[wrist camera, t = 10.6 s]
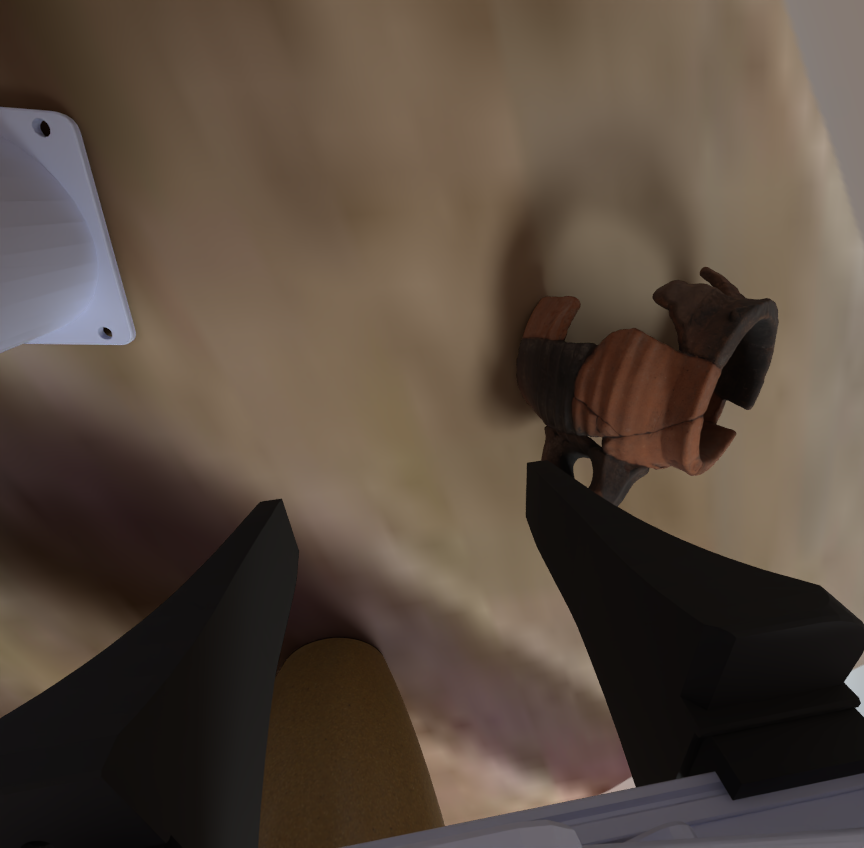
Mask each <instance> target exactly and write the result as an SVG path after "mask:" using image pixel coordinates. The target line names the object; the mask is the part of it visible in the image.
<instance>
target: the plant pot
mask: <svg viewBox="0 0 864 848" xmlns="http://www.w3.org/2000/svg"><path fill="white" fill-rule="evenodd" d="M444 826H445V825H444V821H443V818H442V814H441V811H440V807H439V804H438V801H437V797H436V794H435V791H434V788H433V784H432V781H431V778H430V775H429V771H428V768H427V765H426V762H425V759H424V756H423V753H422V750H421V747H420V744H419V742H418V739H417V736H416V733H415V731H414V728H413V725H412V722H411V720H410V717H409V714H408V712H407V709H406V707H405V704H404V702H403V699H402V697H401V695H400V692H399V690H398V687H397V685H396V683H395V681H394V678H393V676H392V674H391V672H390V670H389V667H388V665H387V663H386V661H385V659H384V657H383V655H382V654H381V653H380V652H379V651H378V650H377V649H376V648H374V647H373V646H371V645H369V644H367V643H365V642H362V641H359V640H355V639H350V638H330V639H323V640H319V641H315V642H312V643H309V644H307V645H305V646H303V647H301V648H299V649H298V650H296V651H295V652H294V653H293V654H291V655H290V656H289V658H288V659H287V660H286V661H285V663H284V664H283V666H282V668H281V669H280V671H279V672H278V674H277V676H276V677H275V682H274V689H273V697H272V705H271V712H270V721H269V730H268V739H267V748H266V757H265V767H264V778H263V789H262V801H261V812H260V827H259V842H258V848H340V847H345V846H350V845H355V844H360V843H365V842H370V841H375V840H380V839H385V838H390V837H395V836H400V835H404V834H409V833H414V832H419V831H424V830H429V829H434V828H439V827H444Z"/></svg>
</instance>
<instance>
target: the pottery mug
mask: <svg viewBox="0 0 864 848" xmlns="http://www.w3.org/2000/svg"><path fill="white" fill-rule="evenodd" d="M700 276H701V277H702V278H704V279H705V280H706V281H708V282H709V283H710V284H711V285H712V286H713V287H712V286H710V285H708V284H701V283H700V284H688V283H686V282H684V281H680V280H675V281H671V282H669V283H667V284H666V285H664V286H662V287H660V288H659V289H657V290H656V291H655V292H654V294H653V300H654V301H655V302H656V303H657V304H658V305H660V306H662V307H663V308H665V309H668V310H669V316H670V318H671V319H672V321H673V323H674V326H675V329H676V331H677V335H678V343H679V351H676V350H675V349H673V348H672V347H670V346H669V345H666V344H663V343H661V342H660V341H658V340H656V339H655V338H653V337H651V336H649V335H647V334H645V333H644V332H642V331H640V330H638V329H636V328H632V329H623V330H618V331H615V332H612V333H611V334H609V335H608V336H607V337H606V338H605V339H604V340H603V341H602V342H601V343H600V344H599V345H596V344H594V343H567V342H565V341H564V340H565V337H566V335H567V330H568V328H569V327H570V325H571V322H572V320H573V319H574V317H575V315H576V313H577V311H578V310H579V308H580V305H581V304H580V301H579V300H578V299H577V298H575V297H571V296H565V297H544V298H542V299H541V300H540V302H539V303H538V305H537V306H536V307H535V309H534V310H533V312H532V314H531V317H530V318H529V320H528V322H527V325H526V329H525V331H524V334H523V339H522V340H521V343H520V347H519V354H518V358H517V383H518V386H519V389H520V391H521V393H522V396H523V397H524V399H525V401H526V402H527V403H528V404H529V405H530V406H531V407H532V408H533V409H534V411H535V412H536V413H537V415H538V416H539V417H540V418H541V419H542V420H543V422H544V423H545V425H547V426H546V427H545V435H546V440H545V445H544V449H543V453H542V459H541V461H543V460H548V461H549V462H551V463H552V464H554V465H555V466H557V467H558V468H560V469H561V470H563V471H564V472H565V473H567V474H568V475H570V476H571V477H572V478H574V473H573V466H574V463H575V461H576V460H577V459H578V458H582V457H585V458H590V459H591V461H592V466H593V478H592V482H591V485H590V486H589V489H590V490H592V491H593V492H595V493H596V494H598V495H599V496H601V497H602V498H604V499H605V500H607V501H609V502H610V503H612V504H614V505H615V506H617V507H618V505H619V504H620V503H621V502H622V501H623V499H624V498H625V496H626V494H627V493H628V491H629V489H630V488H631V486H632V485H633V484H634V483H635V482H636V481H637V480H638V479H640V478H641V477H643V476H645V475H646V474H647V473H648V471H649V468H654V469H656V470H657V469H662V468H668V467H669V466H673V467H675V468H678V469H680V470H682V471H684V472H686V473H687V474H689V475H691V476H694V475H700V474H702V473H704V472H705V471H707V470H708V469H709V468H710V467H712V466H713V465H714V463H715V462H716V461H717V460H718V459H719V458H720V457H721V456H722V454H723V453H724V452H725V451H726V449H727V448H728V446H729V445H730V443H731V442H732V440H733V439H734V437H735V436H736V432H735V431H734V430H731V429H728V428H725V427H722V426H719V425H717V424H716V423H717V421H718V419H719V417H720V415H721V413H722V410H723V408H724V405H725V402H726V400H729V401H730V402H732V403H734V404H736V405H738V406H741V407H742V408H744V409H746V410H750V409H751V408H752V407H753V405H754V403H755V401H756V399H757V397H758V395H759V393H760V390H761V387H762V385H763V383H764V378H765V375H766V373H767V371H768V369H769V366H770V363H771V359H772V355H773V351H774V345H775V339H776V334H777V327H778V323H779V321H778V309H777V306H776V303H775V302H774V301H772V300H771V299H769V298H765V299H760V300H756V299H747V298H745V297H744V296H743V295H742V294H740V293H739V291H738V288H736V287H735V286H734V285H733V284H731V283H730V282H729V281H728V280H727V279H726V278H725V277H724V276H722V275H721V274H719V273H717V272H715V271H713V270H712V269H710V268H708V267H703V268H702V269H701V271H700ZM588 436H590V437H602V447H601V446H599V445H598V444H597V443H596V442H595V441H593V440H592V439H591V438H589V437H588Z"/></svg>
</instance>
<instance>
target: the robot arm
mask: <svg viewBox="0 0 864 848" xmlns="http://www.w3.org/2000/svg"><path fill="white" fill-rule="evenodd" d="M42 121H45V122H46V123H47V124H48V125H49V127H50V135H49V136H48V137H46V136H45V135H44V134H43V133H42V131H41V129H40V124H41V122H42ZM103 327H106V328H108V329H109V330H111V332H112V337H110V336H108V335H106V334H105V332H104V331H103ZM135 337H136V331H135V327H134V324H133V320H132V316H131V313H130V309H129V306H128V302H127V298H126V295H125V291H124V288H123V284H122V280H121V277H120V273H119V269H118V266H117V262H116V259H115V255H114V251H113V248H112V244H111V240H110V237H109V233H108V230H107V226H106V222H105V219H104V215H103V211H102V208H101V204H100V201H99V197H98V193H97V190H96V186H95V182H94V179H93V175H92V172H91V168H90V164H89V161H88V157H87V154H86V150H85V146H84V143H83V139H82V135H81V132H80V130H79V127H78V125H77V124H76V123H75V122H74V120H73V119H72V118H70V117H69V116H67V115H66V114H62V113H58V112H55V111H46V110H34V109H21V108H9V107H0V353H2V352H4V351H6V350H9V349H11V348H14V347H16V346H19V345H21V344H88V345H125V344H128V343H130V342H132V341H133V340H134V339H135ZM526 518H527V521H528V524H529V527H530V530H531V533H532V535H533V538H534V540H535V543H536V546H537V548H538V550H539V552H540V554H541V556H542V558H543V560H544V562H545V564H546V565H547V567H548V569H549V571H550V573H551V575H552V577H553V579H554V581H555V583H556V585H557V587H558V589H559V590H560V592H561V594H562V596H563V598H564V600H565V602H566V604H567V606H568V608H569V610H570V612H571V614H572V616H573V618H574V620H575V622H576V625H577V627H578V629H579V632H580V634H581V637H582V639H583V642H584V644H585V647H586V649H587V652H588V654H589V657H590V659H591V662H592V665H593V667H594V670H595V673H596V675H597V678H598V680H599V683H600V686H601V688H602V691H603V694H604V696H605V699H606V702H607V705H608V707H609V710H610V713H611V716H612V719H613V722H614V724H615V727H616V730H617V733H618V736H619V738H620V741H621V744H622V747H623V750H624V753H625V756H626V759H627V762H628V765H629V768H630V771H631V774H632V777H633V780H634V783H635V786H636V788H631V789H627V790H621V791H617V792H611V793H607V794H601V795H597V796H592V797H587V798H582V799H577V800H572V801H567V802H562V803H557V804H552V805H547V806H542V807H537V808H533V809H528V810H523V811H518V812H513V813H508V814H503V815H498V816H493V817H488V818H483V819H478V820H473V821H468V822H464V823H459V824H454V825H449V826H444V827H439V828H434V829H429V830H424V831H419V832H414V833H409V834H404V835H400V836H395V837H390V838H385V839H380V840H375V841H370V842H365V843H360V844H355V845H350V846H345V847H340V848H864V717H863V716H862V715H861V714H860V713H859V712H858V711H857V710H856V709H855V708H856V707H859V705H860V704H861V702H860V700H859V698H858V696H857V695H856V694H855V693H854V692H853V691H852V690H851V689H850V688H849V687H848V686H847V685H846V684H845V683H844V681H845V679H846V678H847V676H848V675H849V673H850V672H851V670H852V669H853V667H854V666H855V664H856V663H857V661H858V660H859V658H860V657H861V655H862V653H863V651H864V624H863V622H862V621H861V620H860V619H858V618H857V617H856V616H855V615H854V614H853V613H852V612H850V611H849V610H848V609H847V608H846V607H845V606H843V605H842V604H841V603H840V602H839V601H838V600H836V599H835V598H834V597H833V596H832V595H831V594H830V593H828V592H827V591H826V590H825V589H824V588H822V587H821V586H820V585H816V584H813V583H809V582H806V581H802V580H798V579H795V578H791V577H788V576H784V575H780V574H777V573H773V572H770V571H766V570H763V569H760V568H756V567H753V566H750V565H747V564H744V563H742V562H739V561H736V560H733V559H730V558H727V557H724V556H721V555H719V554H716V553H713V552H711V551H708V550H706V549H703V548H701V547H698V546H696V545H693V544H691V543H688V542H686V541H684V540H681V539H679V538H677V537H675V536H672V535H670V534H668V533H666V532H664V531H662V530H660V529H658V528H656V527H654V526H652V525H650V524H648V523H646V522H644V521H642V520H640V519H638V518H636V517H634V516H632V515H631V514H629V513H627V512H626V511H624V510H622V509H620V508H619V507H617V506H615V505H614V504H612V503H610V502H609V501H607V500H605V499H604V498H602V497H601V496H599V495H598V494H596V493H595V492H593V491H592V490H590V489H589V488H587V487H586V486H584V485H583V484H581V483H580V482H578V481H577V480H575V479H574V478H572V477H571V476H570V475H568V474H567V473H565V472H564V471H563V470H561V469H560V468H558V467H557V466H555V465H554V464H552V463H551V462H549V461H548V460H543V461H536V462H529V463H527V485H526ZM298 558H299V550H298V546H297V543H296V540H295V537H294V534H293V531H292V528H291V525H290V522H289V519H288V516H287V513H286V510H285V507H284V504H283V501H282V499H276V500H269V501H263V502H260V503H259V504H258V505H257V506H256V507H255V508H254V509H253V510H252V511H251V513H250V514H249V515H248V516H247V517H246V518H245V519H244V521H243V522H242V523H241V524H240V525H239V526H238V527H237V529H236V530H235V531H234V532H233V533H232V534H231V535H230V536H229V537H228V539H227V540H226V541H225V542H224V543H223V544H222V545H221V546H220V547H219V549H218V550H217V551H216V552H215V553H214V554H213V555H212V556H211V557H210V558H209V559H208V560H207V561H206V562H205V563H204V564H203V565H202V566H201V567H200V568H199V569H198V570H197V571H196V572H195V573H194V574H193V575H192V576H191V577H190V578H189V579H188V580H187V581H186V582H185V583H184V584H183V585H182V586H181V587H180V588H179V589H178V590H177V591H176V592H175V593H174V594H173V595H171V596H170V597H169V598H168V599H167V600H166V601H165V602H164V603H162V604H161V605H160V606H159V607H158V608H157V609H156V610H154V611H153V612H152V613H151V614H150V615H149V616H147V617H146V618H145V619H144V620H142V621H141V622H140V623H139V624H137V625H136V626H135V627H133V628H132V629H131V630H130V631H128V632H127V633H126V634H124V635H123V636H122V637H121V638H119V639H118V640H117V641H115V642H114V643H113V644H112V645H110V646H109V647H108V648H106V649H105V650H104V651H102V652H101V653H100V654H98V655H97V656H95V657H94V658H93V659H91V660H90V661H88V662H87V663H85V664H84V665H83V666H81V667H80V668H78V669H77V670H75V671H74V672H72V673H71V674H69V675H68V676H66V677H65V678H64V679H62V680H61V681H59V682H58V683H56V684H55V685H53V686H52V687H50V688H48V689H47V690H45V691H44V692H42V693H41V694H39V695H38V696H36V697H34V698H33V699H31V700H29V701H28V702H26V703H25V704H23V705H21V706H20V707H18V708H16V709H15V710H13V711H12V712H10V713H8V714H7V715H5V716H3V717H2V718H0V848H258V842H259V827H260V812H261V801H262V789H263V778H264V767H265V757H266V748H267V739H268V730H269V721H270V712H271V705H272V697H273V689H274V682H275V676H276V670H277V665H278V660H279V656H280V651H281V647H282V643H283V639H284V634H285V630H286V626H287V621H288V617H289V613H290V609H291V604H292V600H293V595H294V591H295V586H296V579H297V570H298Z"/></svg>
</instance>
